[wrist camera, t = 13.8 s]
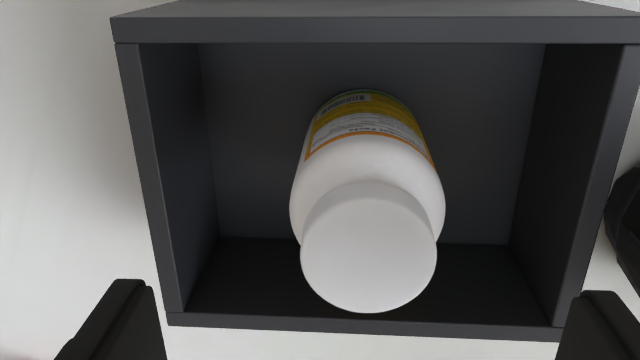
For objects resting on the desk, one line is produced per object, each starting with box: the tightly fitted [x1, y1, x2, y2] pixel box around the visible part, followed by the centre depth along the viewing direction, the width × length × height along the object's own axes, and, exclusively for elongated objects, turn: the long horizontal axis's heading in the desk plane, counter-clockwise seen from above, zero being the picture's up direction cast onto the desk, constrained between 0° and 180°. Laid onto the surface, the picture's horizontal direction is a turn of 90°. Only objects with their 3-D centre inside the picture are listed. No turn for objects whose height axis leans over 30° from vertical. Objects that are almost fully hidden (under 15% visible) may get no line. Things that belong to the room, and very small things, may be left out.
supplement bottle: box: [289, 89, 446, 313], centre depth 18 cm, size 5×5×10 cm
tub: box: [110, 0, 640, 343], centre depth 20 cm, size 13×17×7 cm
